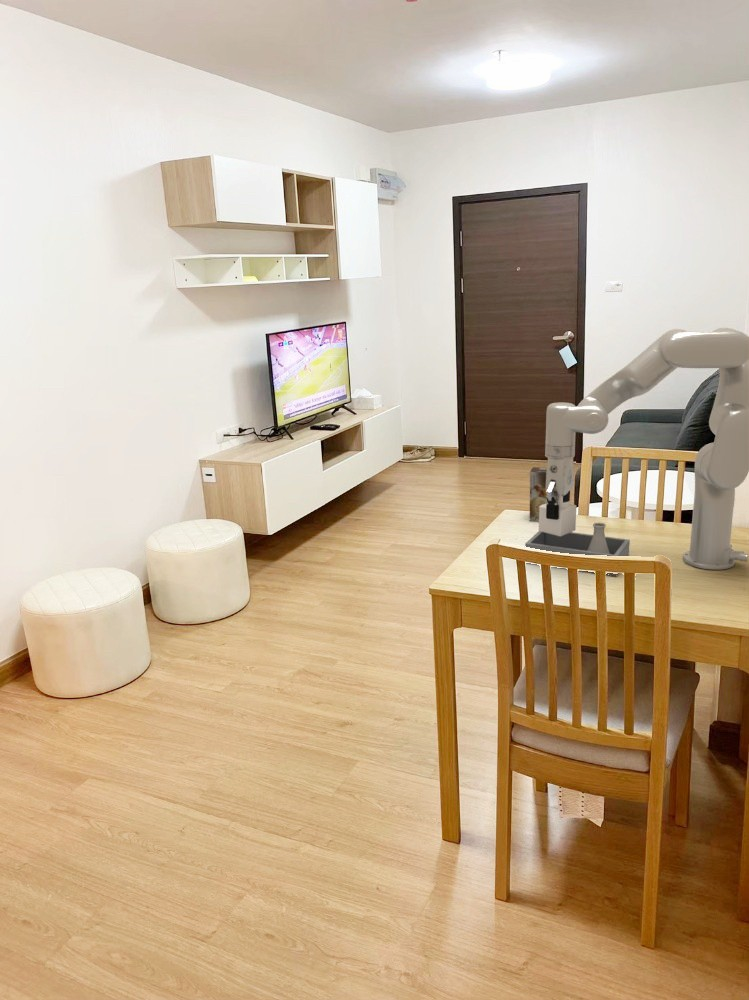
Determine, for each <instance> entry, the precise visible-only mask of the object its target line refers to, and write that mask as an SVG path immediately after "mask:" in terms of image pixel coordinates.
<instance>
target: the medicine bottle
mask: <svg viewBox="0 0 749 1000" xmlns="http://www.w3.org/2000/svg"><path fill="white" fill-rule="evenodd" d="M553 493H558V492H553ZM553 497H554V498H555V499H556V497H555V496H553ZM546 501H547V499H546ZM570 501H571V491H569V492H568V493H567V494H566V495H565V496H561V495H560V496H559V501H558V505H559V518H558V520H554V519H547V518H546V504H544V505H541V506H539V522H538V532H539V531H541V532H545V533H549V534H552V535H556V536H563V535H565V534H568V533H570V532H575V531H576V525H577V505H576V504H572V503H571V502H570Z"/></svg>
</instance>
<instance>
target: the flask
mask: <svg viewBox="0 0 749 1000" xmlns="http://www.w3.org/2000/svg"><path fill="white" fill-rule="evenodd" d="M592 527H593V534H592V535H593V537H592V540H591V543H590V545H589V548H588V550H587V551H591V552H598V553H605V554H610V552H609V549H608V546H607V543H606V540H605V537H606V535H605V528H606V523H603V522H594V523H593V524H592Z"/></svg>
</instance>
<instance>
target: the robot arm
mask: <svg viewBox="0 0 749 1000" xmlns="http://www.w3.org/2000/svg"><path fill="white" fill-rule="evenodd" d="M677 368H680V369H718V372H719V380H718V381H719V382H718V386H717V389H716V390H717V391H716V395H715V398H714V402H713V405H712V409H711V413H710V415H709V420H708V427H709V429H710V431H711V432H712V433H713V434H714V435H715V437H714V441H713V442H710V443H708V444H704V446H702V447H701V448H700V449H699V451H698V452H697V454H696V457H695V460H694V493H693V495H694V497H693V507H692V508H693V509H692V519H691V520H692V521H691V531H690V533H691V534H690V544H689V550H687V551H685V552H684V553H683V555H682V561H683V562H684V563H685V564H687V565H689V566H691V567H694V568H699V569H705V570H714V571H715V570H716V571H717V570H719V571H720V570H727V569H730V568H732V567H734V566H735V564H736V563H735V562H736V561H740V562H748V561H749V560H748V558H749V554H748V553H745V552H744V551H743V550H742V551H741V550H735V549H733V544H731V538H732V536H731V535H732V527H733V518H734V517H733V516H734V508H735V500H736V499H735V496H736V489H737V488H738V487H739V486H740V485H742V483H744V481H745V480H746V479H747V476H748V474H749V335H747V334H746V333H744V332H742V331H740V330H737V329H733V328H729V327H720V328H717V329H714V330H713V331H705V332H704V331H687V330H684V329H681V328H674V329H669V330H668V331H666V332H665V333H663V334H662V335H661V336H659V337H658V338H657V339H656V340H655V341H653V342H652V343H651V344H650V345H649V346H648V347H647V348H645V350H643V351H642V352H641V353H639V354H638V355H637V356H636V357H634V358H633V359H632V360H631V361H630V362H628V364H627V365H625V366H624V367H623V368H621V369H620V370H618V371H617V372H616V373H615V374H613V375H611V377H609V378H607V379H606V380H605V381H603V382H602V383H600V384H599V385H598V386H596V388H595V389H593V390H592V391H591V392H590V393H589V394H588V395H587V396H585V397H584V398H583V399H582V400H580V402H579V403H578V405H577V406H576V405H575V404H573V403H571V402H563V401H562V402H560V401H559V402H553V403H549V405H547V407H546V416H545V417H546V420H545V426H546V427H545V447H544V450H545V452H544V453H545V454H544V456H545V457H546V458H547V463H546V468H547V472H546V495H547V497H546V499H547V501H546V518H547V519H554V520H558V518H559V505H558V501H559V496H560V495H561V496H565V495H566V494H567V493H568V492H569V491H570V492H571V491H572V490H573V489H574V481H575V479H574V478H575V477H574V474H575V473H574V471H575V470H574V458H575V455H576V433H582V434H589V435H595V434H599V433H601V432H603V431H604V430H605V429H606V428H607V426H608V424H609V414H610V413H612V412H613V411H614V410H616V409H617V408H618V407H619V406H621V404H624V403H626V402H627V401H629V400H630V399H633V398H635V397H640V396H643V395H644V394H647V393H648V392H650V391H651V390H652V389H654V388H655V387H656V386H657V385H658V384H659V383H661V382H662V381H663V380H664V379H665V378H666V377H667V376H669V375H670V374H671V373H673V372H674V371H675V370H676V369H677ZM553 492H558V493H553ZM553 496H555V497H556V499H555V498H554V497H553Z"/></svg>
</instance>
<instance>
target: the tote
mask: <svg viewBox="0 0 749 1000" xmlns="http://www.w3.org/2000/svg"><path fill="white" fill-rule="evenodd" d="M592 537H593V534H588V533H581V532H575V531H572V532H570V533H568V534H565V535H563V536H556V535H552V534H549V533H545V532H541V531H539V530H538V532H536V533H535V534H534V535H533V536H532V537H531V538H530V539H529V540H528V541H526V542H525V543H524V547H525V546H526V547H530V548H535V549H540V550H546V551H552V552H560V553H569V554H585V555H607V556H629V557H630V544H631V541H630V539H626V538H619V537H613V536H612V537H611V536H605V540H606V543H607V546H608V549H609V552H610V554H605V553H598V552H591V551H587V550H588V548H589V545H590V543H591V540H592ZM580 572H581V573H589V574H595V573H594V572H588V571H580ZM608 574H609V575H608ZM595 575H596V574H595ZM610 575H611V576H610ZM616 575H617V576H618V575H619V574H613V573H607V574H606V575H605V576H606V577H607V576H608V577H613V576H614V577H615V578H617V576H616ZM614 577H613V578H614Z"/></svg>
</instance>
